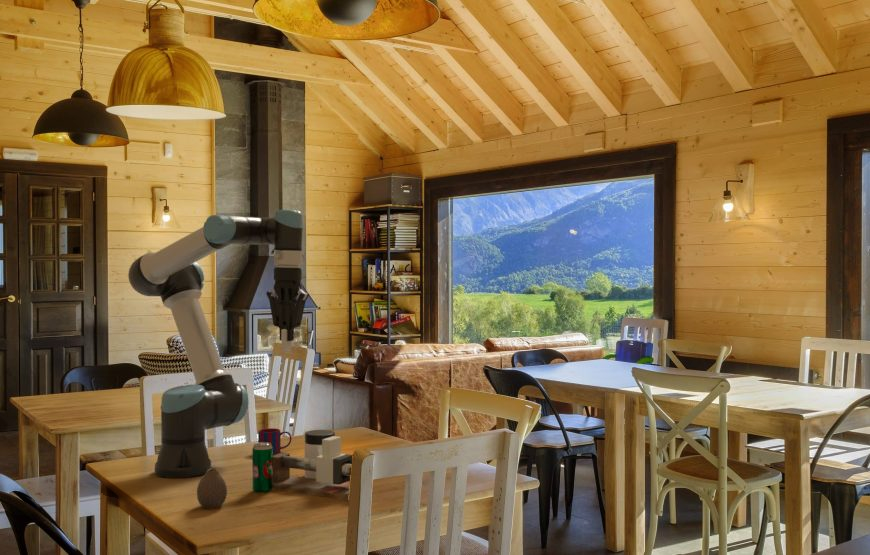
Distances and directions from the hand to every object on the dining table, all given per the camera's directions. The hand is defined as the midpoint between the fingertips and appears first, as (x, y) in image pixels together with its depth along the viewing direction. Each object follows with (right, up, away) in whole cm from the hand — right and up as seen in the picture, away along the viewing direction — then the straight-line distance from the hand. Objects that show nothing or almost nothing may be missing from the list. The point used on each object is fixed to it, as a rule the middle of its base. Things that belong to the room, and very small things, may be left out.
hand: (286, 352), depth 233 cm
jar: (+9, -34, -1) cm, 35 cm away
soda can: (-3, -34, -16) cm, 38 cm away
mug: (-9, -33, +28) cm, 45 cm away
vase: (-12, -34, -30) cm, 47 cm away
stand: (+11, -34, -15) cm, 38 cm away
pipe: (+11, -29, -15) cm, 35 cm away
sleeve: (+14, -31, -16) cm, 38 cm away
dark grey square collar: (+18, -31, -18) cm, 40 cm away
